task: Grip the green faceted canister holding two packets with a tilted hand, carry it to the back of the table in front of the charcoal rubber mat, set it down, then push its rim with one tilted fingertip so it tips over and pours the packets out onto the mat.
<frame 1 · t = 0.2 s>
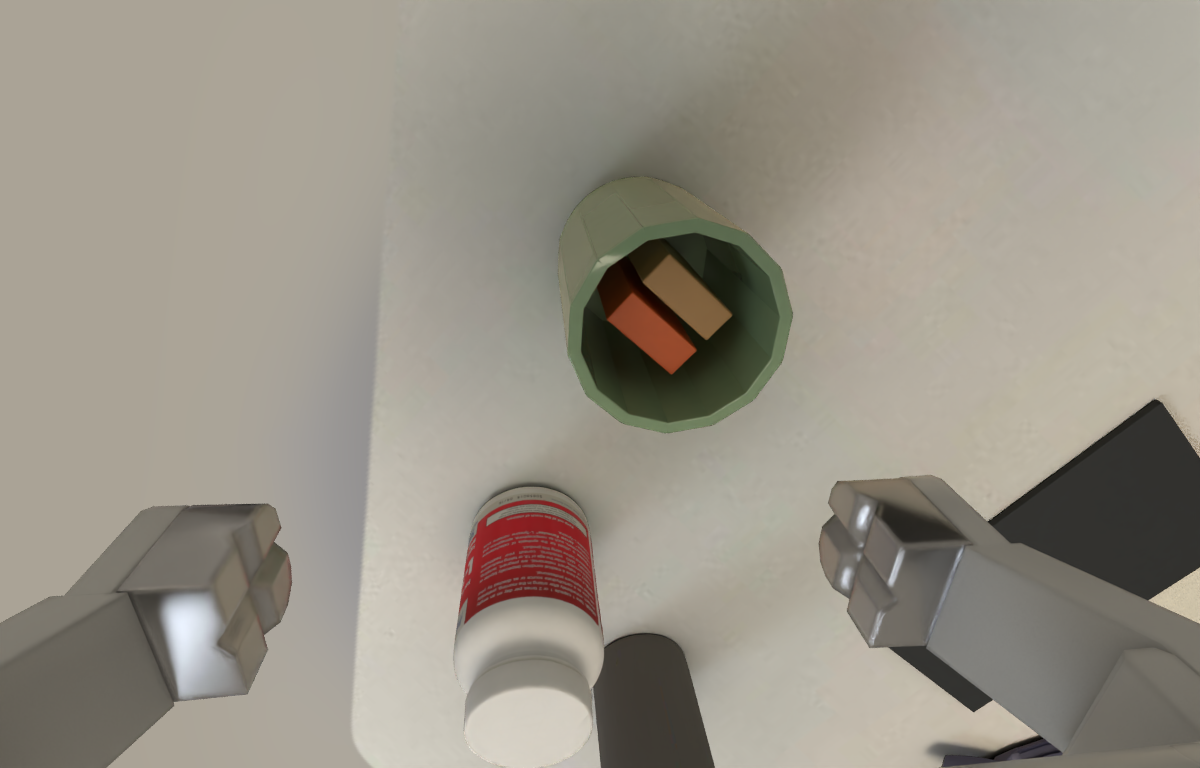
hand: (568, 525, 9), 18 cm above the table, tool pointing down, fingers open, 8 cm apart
mat: (1049, 574, 37), on the table
pill bottle: (531, 527, 32), on the table
packet b: (624, 274, 25), resting on green faceted canister
bottle: (638, 663, 37), on the table
packet a: (650, 246, 25), resting on green faceted canister
green faceted canister: (635, 257, 26), on the table, touching packet a, packet b
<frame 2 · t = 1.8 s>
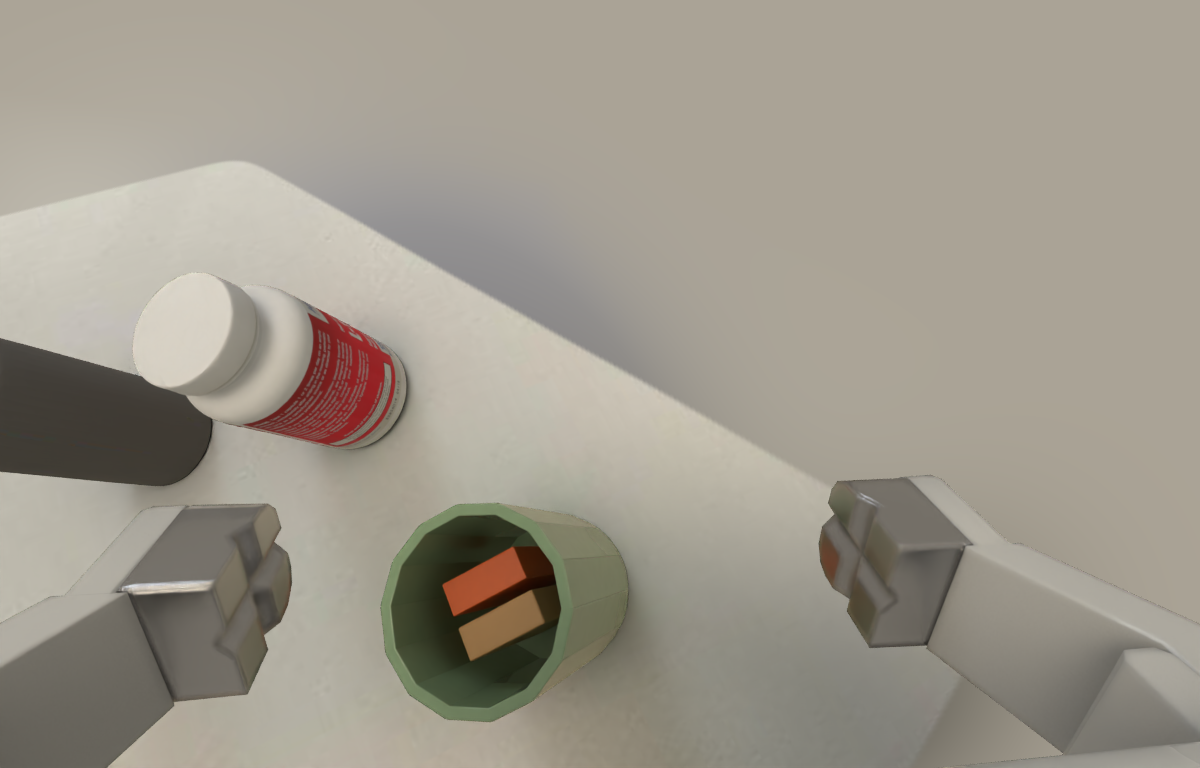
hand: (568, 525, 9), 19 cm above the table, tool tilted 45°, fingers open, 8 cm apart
pill bottle: (362, 396, 33), on the table
packet b: (548, 572, 28), resting on green faceted canister
bottle: (174, 437, 36), on the table
packet a: (562, 606, 27), resting on green faceted canister
green faceted canister: (558, 588, 28), on the table, touching packet a, packet b
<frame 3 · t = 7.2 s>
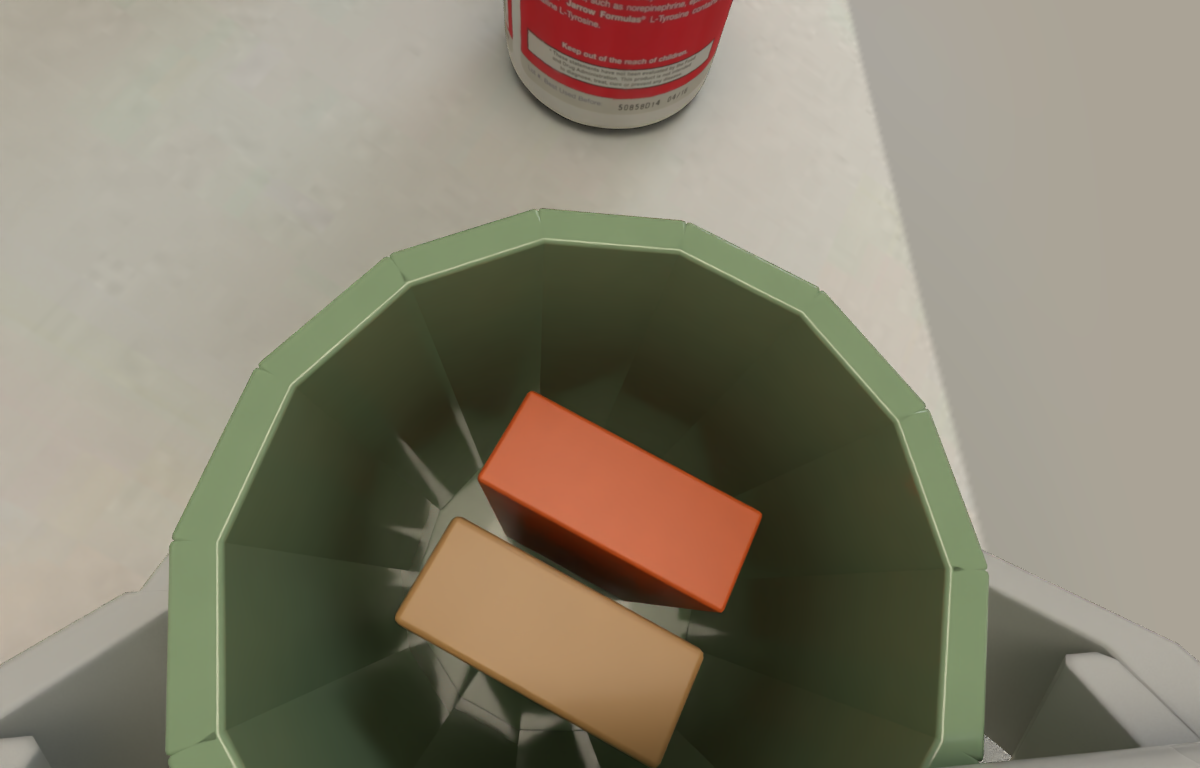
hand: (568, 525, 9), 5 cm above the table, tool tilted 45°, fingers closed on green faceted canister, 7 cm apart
pill bottle: (606, 61, 19), on the table
packet b: (578, 543, 13), resting on green faceted canister
packet a: (542, 612, 13), resting on green faceted canister
green faceted canister: (559, 577, 13), on the table, touching gripper, packet a, packet b
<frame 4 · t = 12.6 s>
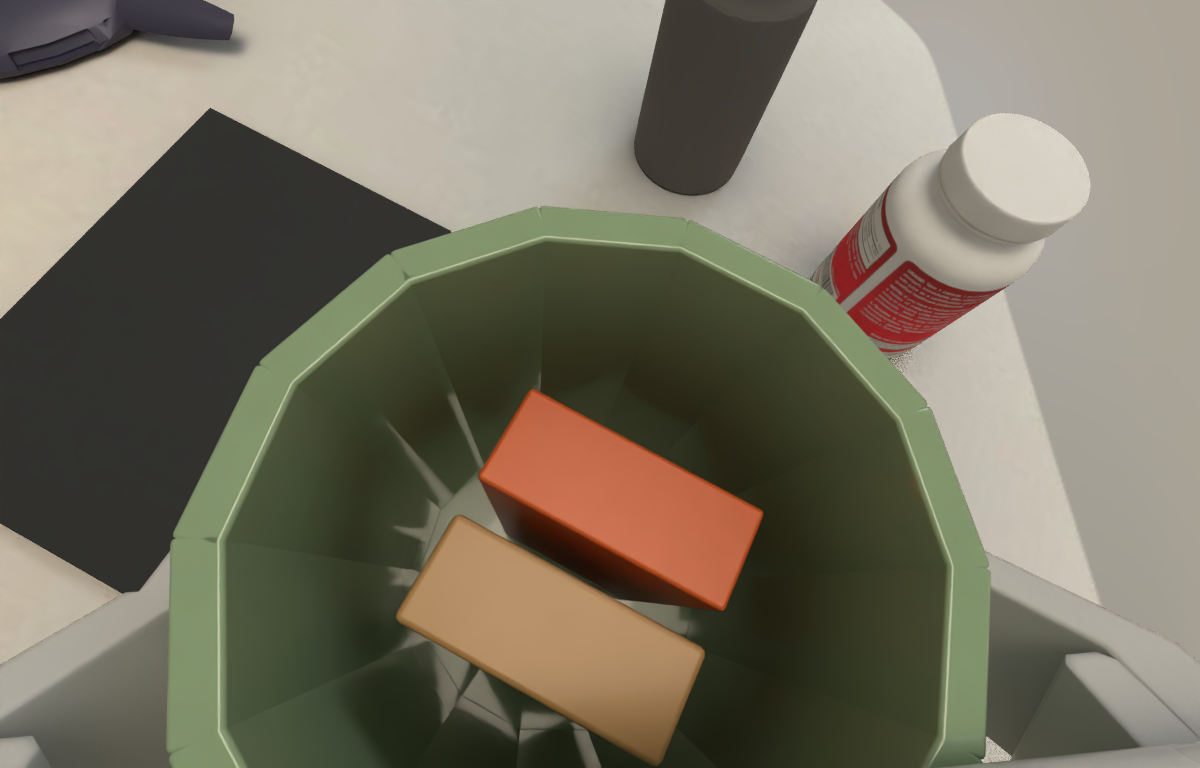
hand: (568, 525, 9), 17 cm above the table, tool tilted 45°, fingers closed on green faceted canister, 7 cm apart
mat: (197, 331, 27), on the table
pill bottle: (860, 309, 31), on the table
packet b: (578, 542, 13), point 13 cm above the table, touching green faceted canister
bottle: (685, 153, 33), on the table
packet a: (542, 611, 13), point 13 cm above the table, touching green faceted canister
green faceted canister: (560, 576, 13), point 12 cm above the table, touching gripper, packet a, packet b
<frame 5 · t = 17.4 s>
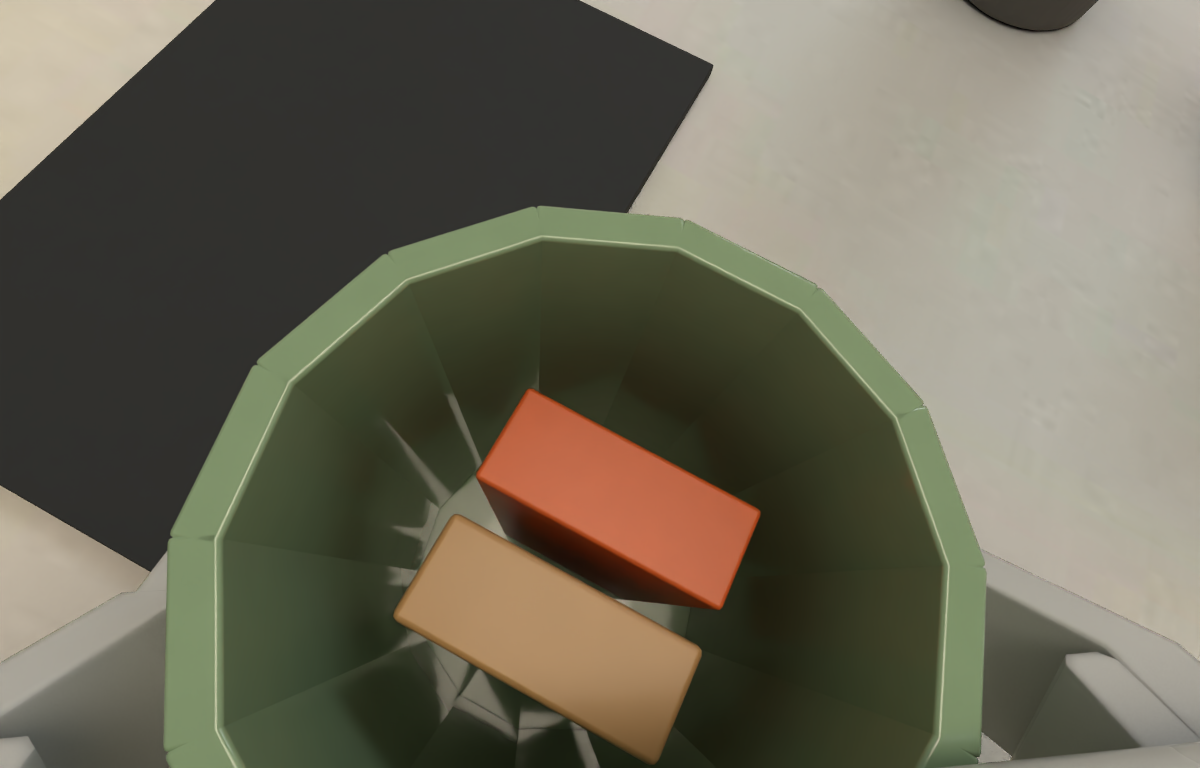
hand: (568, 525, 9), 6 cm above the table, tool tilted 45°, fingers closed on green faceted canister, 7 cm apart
mat: (344, 201, 17), on the table
packet b: (577, 541, 13), point 1 cm above the table, touching green faceted canister
packet a: (541, 611, 13), point 1 cm above the table, touching green faceted canister
green faceted canister: (558, 576, 13), point 1 cm above the table, touching gripper, packet a, packet b
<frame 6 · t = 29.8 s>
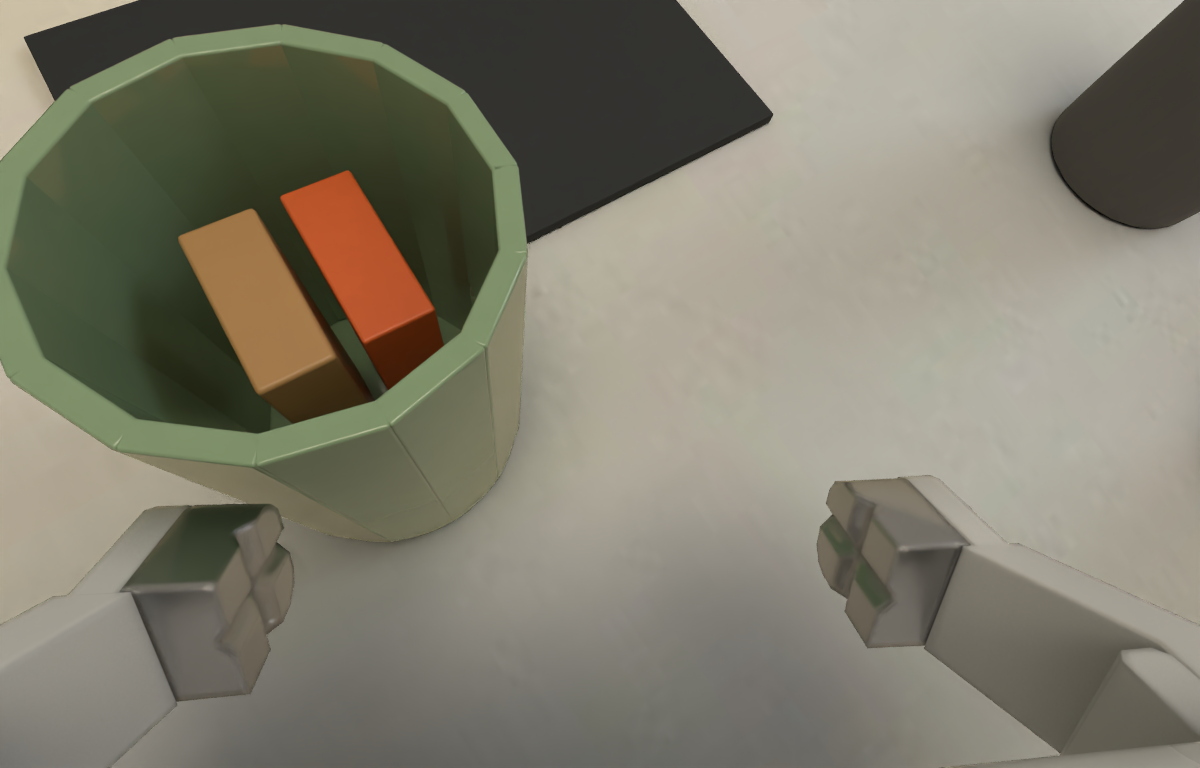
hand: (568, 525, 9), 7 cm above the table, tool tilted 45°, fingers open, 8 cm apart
mat: (420, 86, 20), on the table
packet b: (418, 395, 16), point 1 cm above the table, touching green faceted canister
bottle: (1118, 166, 23), on the table
packet a: (361, 425, 16), point 1 cm above the table, touching green faceted canister
green faceted canister: (393, 416, 16), on the table, touching gripper, mat, packet a, packet b
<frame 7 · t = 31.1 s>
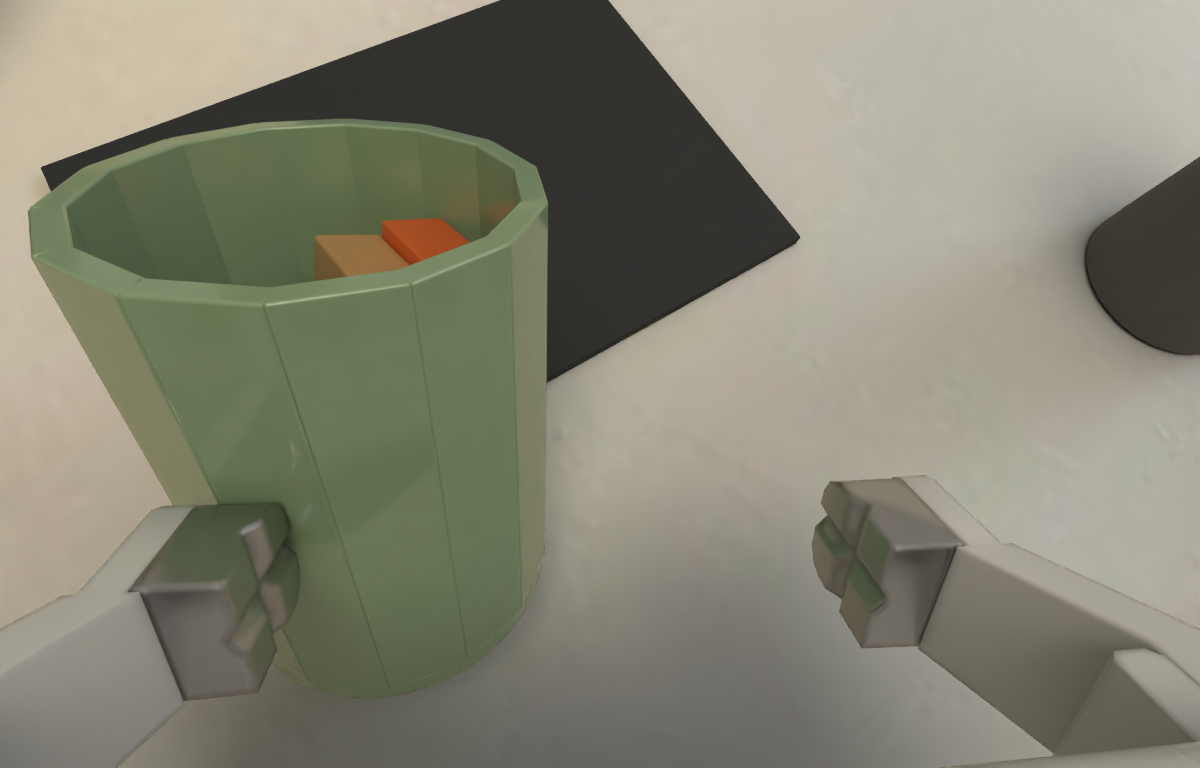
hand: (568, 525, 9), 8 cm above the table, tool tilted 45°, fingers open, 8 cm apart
mat: (440, 210, 20), on the table
packet b: (431, 525, 14), point 2 cm above the table, tilted 38°, touching green faceted canister
bottle: (1155, 284, 22), on the table
packet a: (364, 556, 14), point 3 cm above the table, tilted 40°, touching green faceted canister
green faceted canister: (402, 556, 14), point 2 cm above the table, tilted 32°, touching gripper, mat, packet a, packet b
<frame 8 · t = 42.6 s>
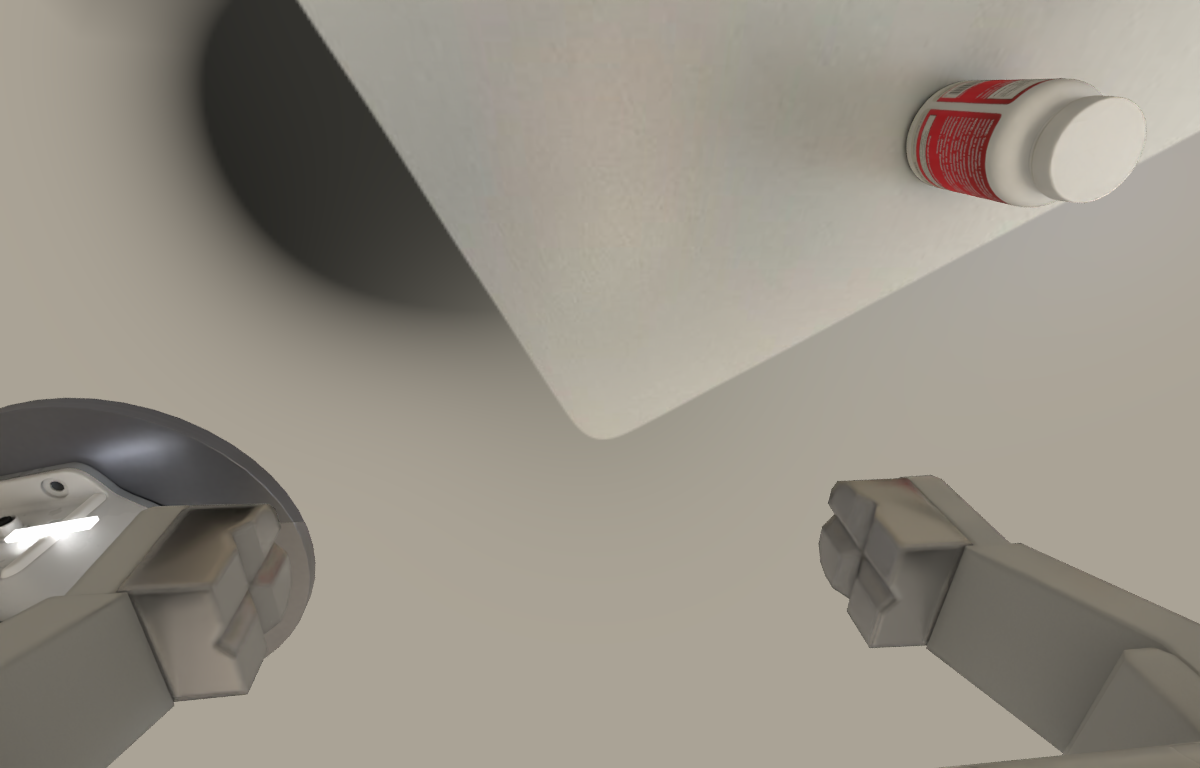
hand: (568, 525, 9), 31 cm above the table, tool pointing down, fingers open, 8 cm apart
pill bottle: (947, 134, 38), on the table
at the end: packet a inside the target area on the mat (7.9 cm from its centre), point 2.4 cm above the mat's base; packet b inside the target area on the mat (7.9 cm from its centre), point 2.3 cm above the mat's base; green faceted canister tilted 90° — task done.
